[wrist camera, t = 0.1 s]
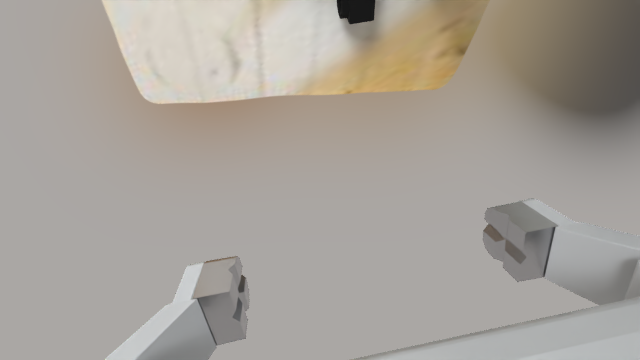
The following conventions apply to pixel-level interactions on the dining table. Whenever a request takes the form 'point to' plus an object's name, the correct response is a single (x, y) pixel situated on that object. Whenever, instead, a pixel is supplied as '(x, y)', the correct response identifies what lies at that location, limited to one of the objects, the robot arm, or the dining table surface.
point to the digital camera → (356, 10)
